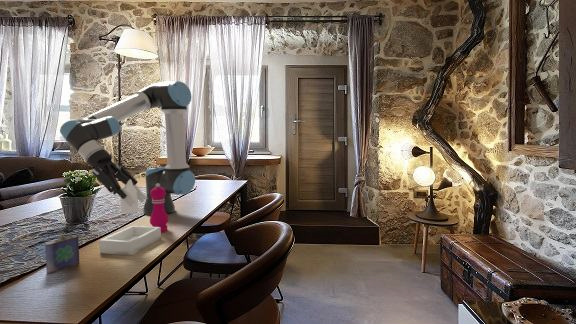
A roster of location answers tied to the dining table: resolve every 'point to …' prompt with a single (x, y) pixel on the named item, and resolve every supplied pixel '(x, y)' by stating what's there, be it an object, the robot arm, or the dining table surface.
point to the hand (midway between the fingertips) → (138, 201)
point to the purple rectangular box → (62, 253)
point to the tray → (130, 240)
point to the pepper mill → (158, 208)
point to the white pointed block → (133, 192)
